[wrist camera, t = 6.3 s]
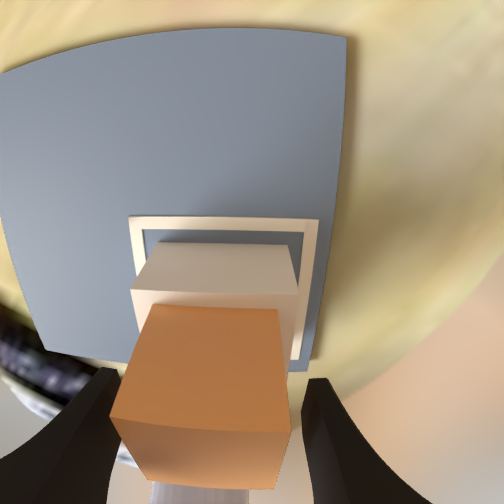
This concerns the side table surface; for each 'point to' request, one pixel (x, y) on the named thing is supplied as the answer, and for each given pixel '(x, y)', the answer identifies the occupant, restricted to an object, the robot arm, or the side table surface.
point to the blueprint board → (166, 169)
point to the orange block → (206, 398)
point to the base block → (220, 281)
